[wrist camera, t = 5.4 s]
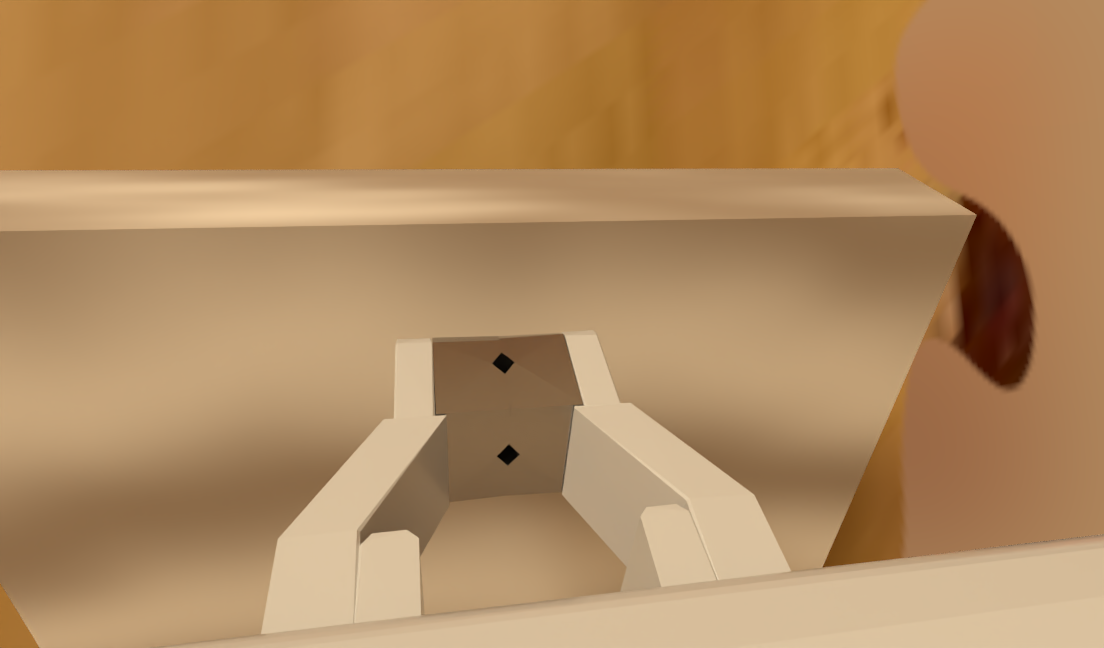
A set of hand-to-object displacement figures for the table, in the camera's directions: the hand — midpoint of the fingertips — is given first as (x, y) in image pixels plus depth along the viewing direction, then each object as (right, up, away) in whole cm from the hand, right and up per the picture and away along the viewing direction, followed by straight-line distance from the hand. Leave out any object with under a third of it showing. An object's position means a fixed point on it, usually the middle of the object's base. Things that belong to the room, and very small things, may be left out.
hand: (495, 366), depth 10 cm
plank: (-1, -2, +6) cm, 7 cm away
